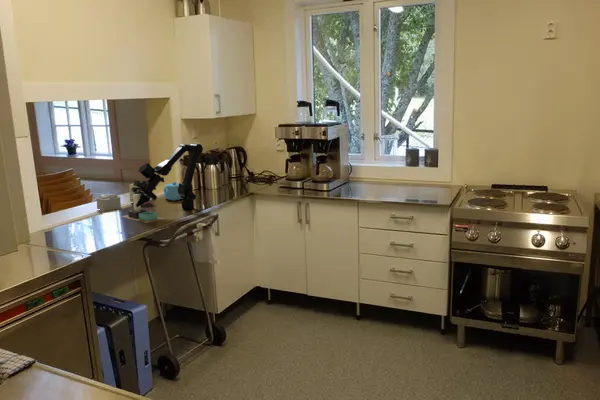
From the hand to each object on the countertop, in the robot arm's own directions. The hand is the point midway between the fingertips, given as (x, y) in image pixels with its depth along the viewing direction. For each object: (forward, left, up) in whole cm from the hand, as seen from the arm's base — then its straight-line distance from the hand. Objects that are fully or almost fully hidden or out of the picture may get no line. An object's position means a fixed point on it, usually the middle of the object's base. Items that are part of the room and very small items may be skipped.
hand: (134, 205), depth 279 cm
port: (-7, +6, -6) cm, 11 cm away
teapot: (-20, -49, -7) cm, 53 cm away
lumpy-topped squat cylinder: (+17, -25, -7) cm, 31 cm away
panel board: (-4, +3, -7) cm, 9 cm away
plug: (-1, -1, -6) cm, 6 cm away
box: (+2, -40, -7) cm, 40 cm away
